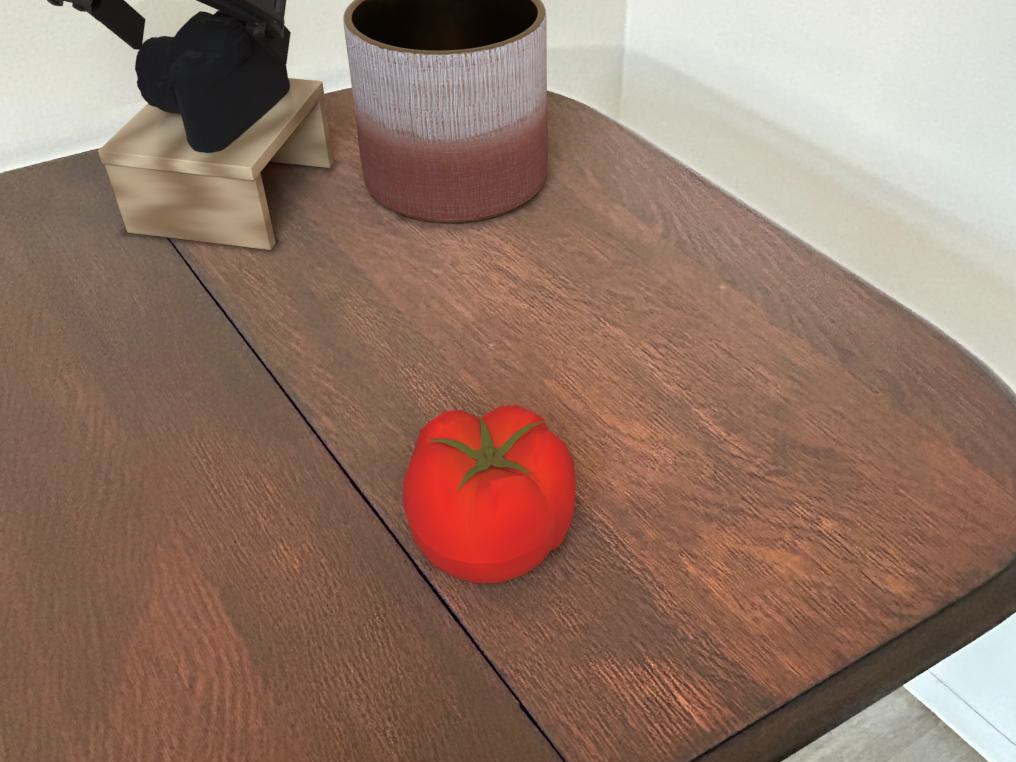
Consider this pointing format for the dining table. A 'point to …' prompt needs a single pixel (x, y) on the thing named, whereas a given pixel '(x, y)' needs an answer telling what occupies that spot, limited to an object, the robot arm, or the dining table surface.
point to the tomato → (489, 493)
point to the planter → (450, 104)
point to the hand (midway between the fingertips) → (211, 41)
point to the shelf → (212, 171)
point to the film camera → (211, 78)
